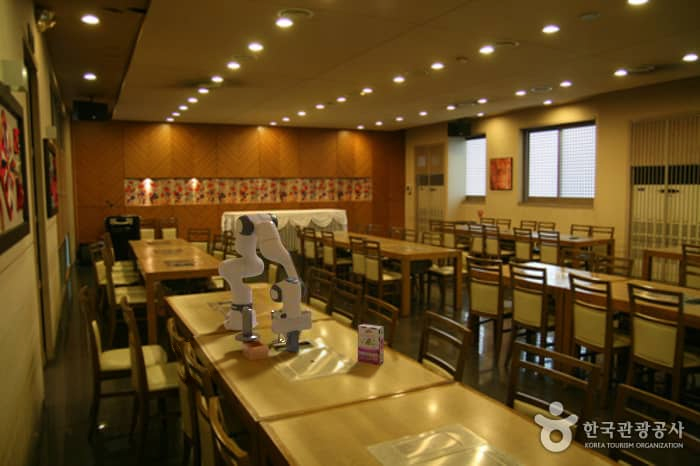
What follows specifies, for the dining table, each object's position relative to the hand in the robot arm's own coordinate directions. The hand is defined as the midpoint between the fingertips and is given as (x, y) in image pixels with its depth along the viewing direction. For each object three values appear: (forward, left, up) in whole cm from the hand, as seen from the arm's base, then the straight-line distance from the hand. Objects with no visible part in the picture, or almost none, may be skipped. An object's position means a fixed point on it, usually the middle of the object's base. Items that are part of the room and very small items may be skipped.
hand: (292, 340), depth 257 cm
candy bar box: (+32, +24, -5) cm, 40 cm away
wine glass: (-18, +1, -5) cm, 19 cm away
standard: (-7, -18, -5) cm, 20 cm away
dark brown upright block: (0, 0, -5) cm, 5 cm away
